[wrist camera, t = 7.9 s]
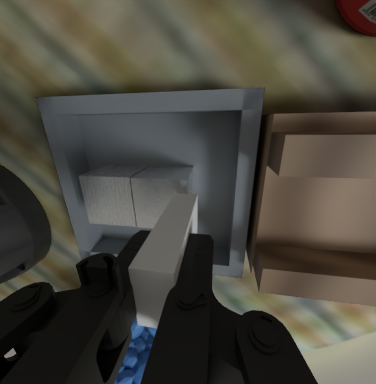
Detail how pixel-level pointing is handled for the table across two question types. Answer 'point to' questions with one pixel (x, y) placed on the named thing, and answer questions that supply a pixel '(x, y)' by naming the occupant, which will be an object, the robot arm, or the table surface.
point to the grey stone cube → (110, 194)
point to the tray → (162, 157)
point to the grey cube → (159, 190)
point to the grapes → (136, 354)
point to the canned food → (359, 14)
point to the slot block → (315, 207)
